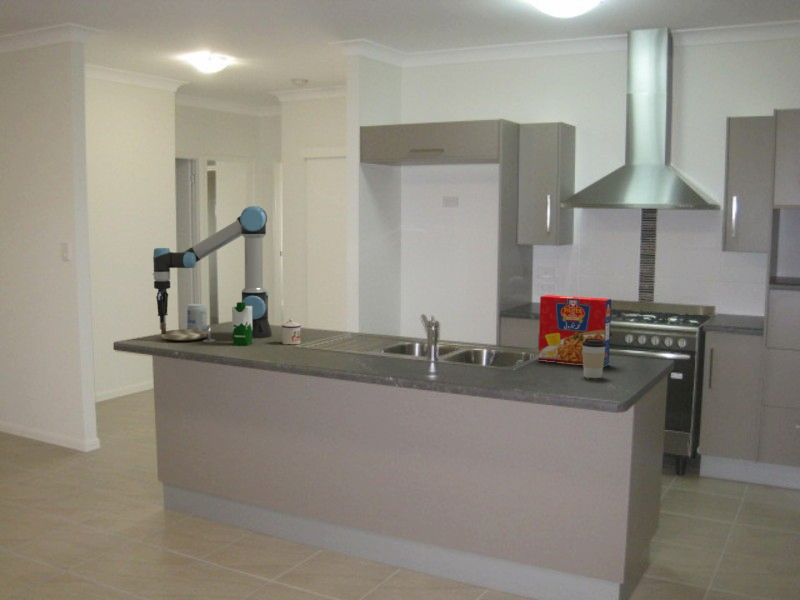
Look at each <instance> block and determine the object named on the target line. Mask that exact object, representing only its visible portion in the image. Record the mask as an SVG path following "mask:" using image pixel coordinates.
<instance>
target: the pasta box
mask: <svg viewBox="0 0 800 600" xmlns="http://www.w3.org/2000/svg"><path fill="white" fill-rule="evenodd" d="M539 302H540V303H539V304H540V305H539V331H538V334H539V336H538V361H539V360H547V361H555V362H564V363H574V364H583V355H582V351H583V346H582V344H583V342H584V341H585V339H601V340H603V342H604V343H605V345H606V346H605V357H604V365H603V366H605V365H607V364H608V363H610V345H611V344H610V343H611V342H610V341H611V316H612V299H611V298H602V297H601V298H600V297H584V296H583V297H582V296H571V295H570V296H569V295H568V296H567V295H556V294H555V295H553V294H545V295H541V296H540V299H539Z"/></svg>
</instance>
